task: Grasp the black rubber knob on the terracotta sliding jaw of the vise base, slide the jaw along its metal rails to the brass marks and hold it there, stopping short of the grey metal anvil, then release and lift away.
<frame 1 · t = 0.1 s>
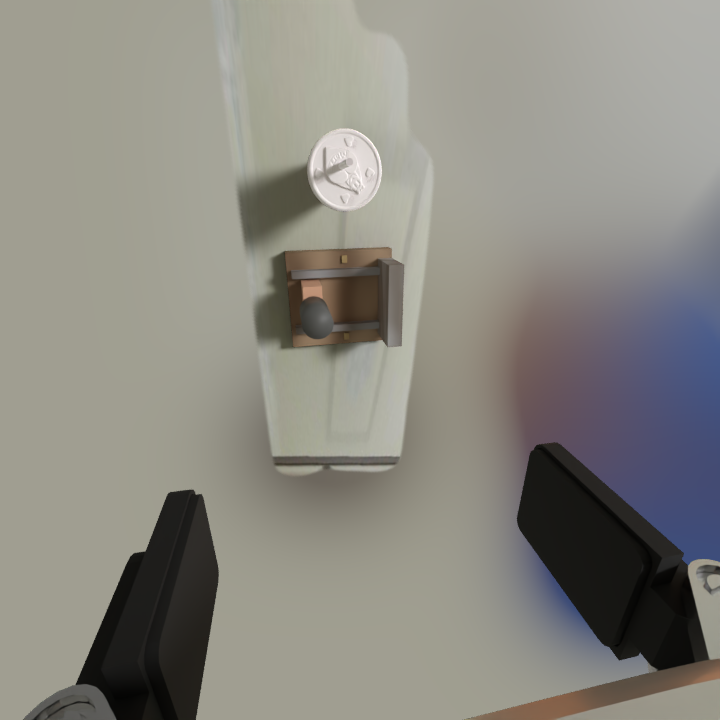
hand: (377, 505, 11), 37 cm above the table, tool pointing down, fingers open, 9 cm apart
smoothie: (331, 176, 41), on the table
vise base: (339, 296, 46), on the table
jaw: (314, 311, 40), point 6 cm above the table, slide at 0.0 cm
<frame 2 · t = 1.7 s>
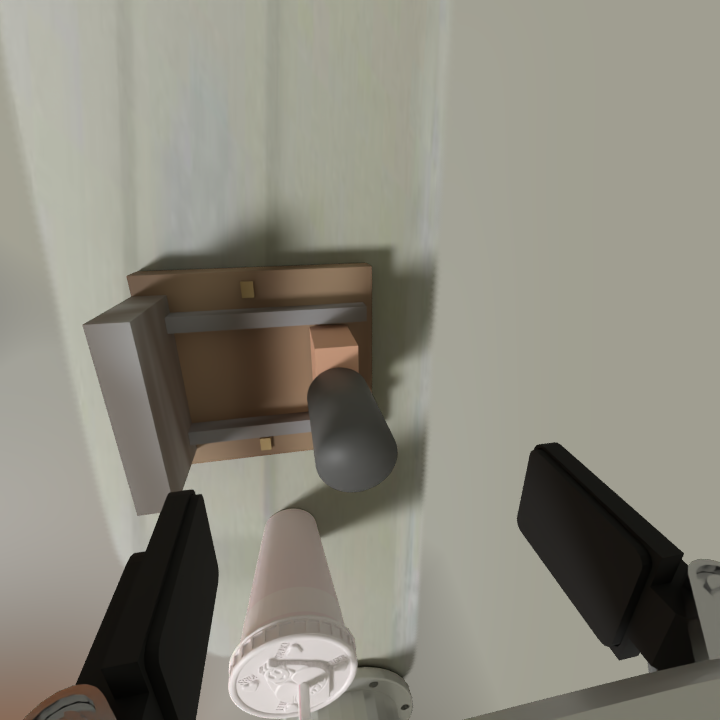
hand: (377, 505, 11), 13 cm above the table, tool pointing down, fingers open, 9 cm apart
smoothie: (290, 526, 28), on the table
vise base: (267, 361, 23), on the table
jaw: (340, 403, 18), point 6 cm above the table, slide at 0.0 cm
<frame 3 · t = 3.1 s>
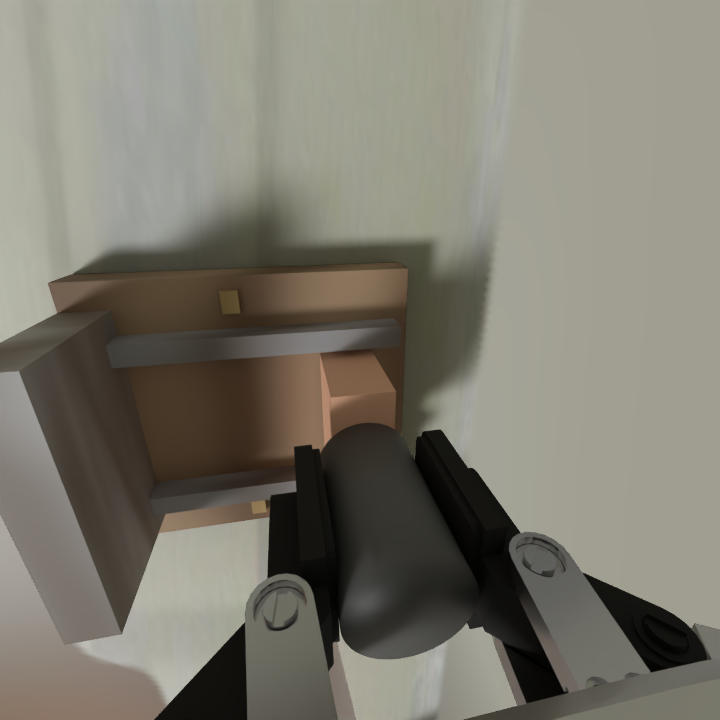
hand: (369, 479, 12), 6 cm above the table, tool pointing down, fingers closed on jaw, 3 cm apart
smoothie: (291, 592, 22), on the table
vise base: (260, 395, 17), on the table
jaw: (368, 476, 12), point 6 cm above the table, slide at 0.0 cm, touching gripper
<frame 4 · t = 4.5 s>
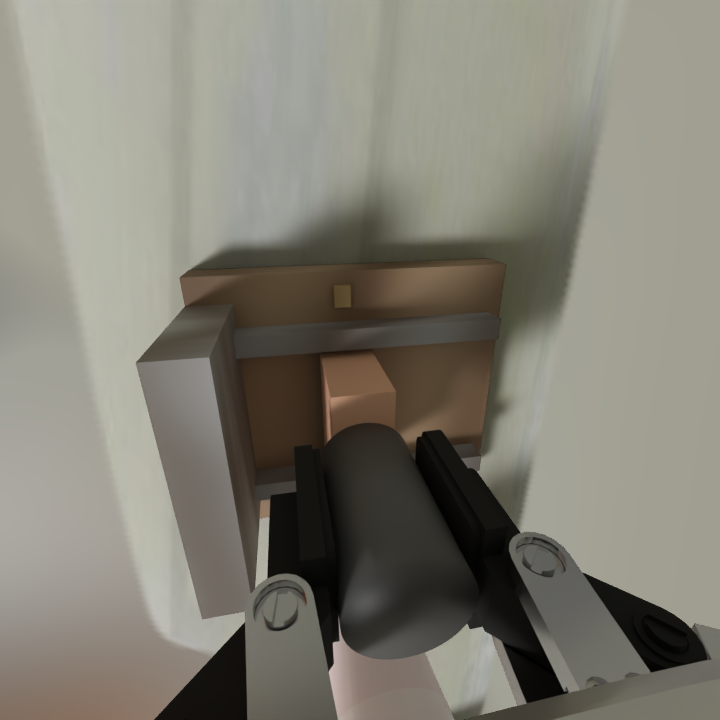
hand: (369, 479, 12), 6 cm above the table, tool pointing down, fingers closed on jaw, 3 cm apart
smoothie: (359, 579, 23), on the table
vise base: (350, 386, 17), on the table
jaw: (368, 476, 12), point 6 cm above the table, slide at 4.0 cm, touching gripper
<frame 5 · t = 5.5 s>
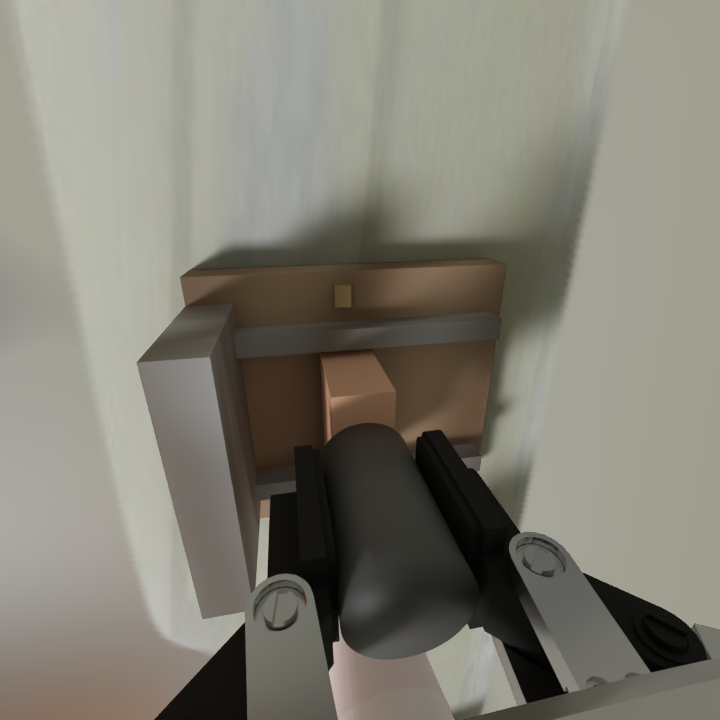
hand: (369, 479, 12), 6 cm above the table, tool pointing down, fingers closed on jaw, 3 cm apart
smoothie: (359, 579, 23), on the table
vise base: (350, 386, 17), on the table
jaw: (368, 476, 12), point 6 cm above the table, slide at 4.0 cm, touching gripper
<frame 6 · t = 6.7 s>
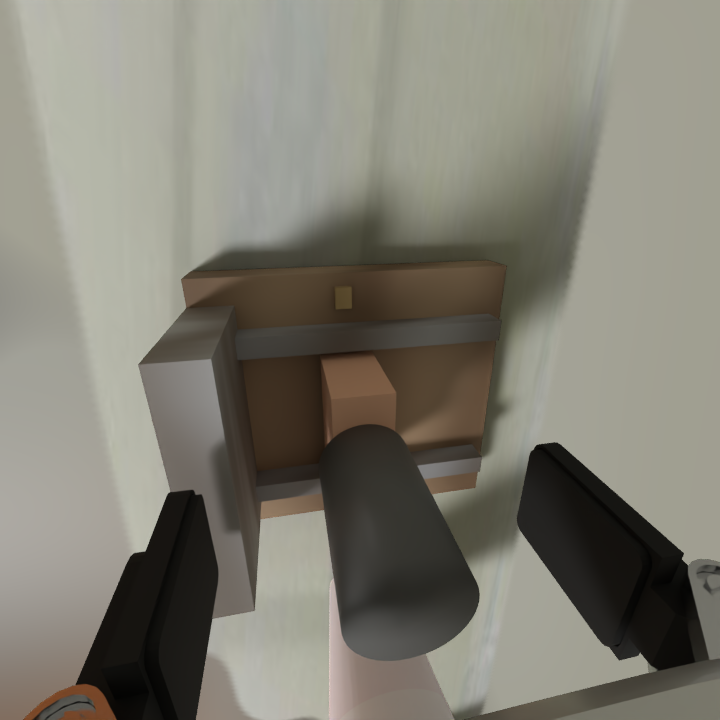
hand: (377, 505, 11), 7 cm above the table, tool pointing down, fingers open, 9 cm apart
smoothie: (359, 580, 23), on the table
vise base: (351, 388, 17), on the table
jaw: (369, 477, 12), point 6 cm above the table, slide at 4.0 cm
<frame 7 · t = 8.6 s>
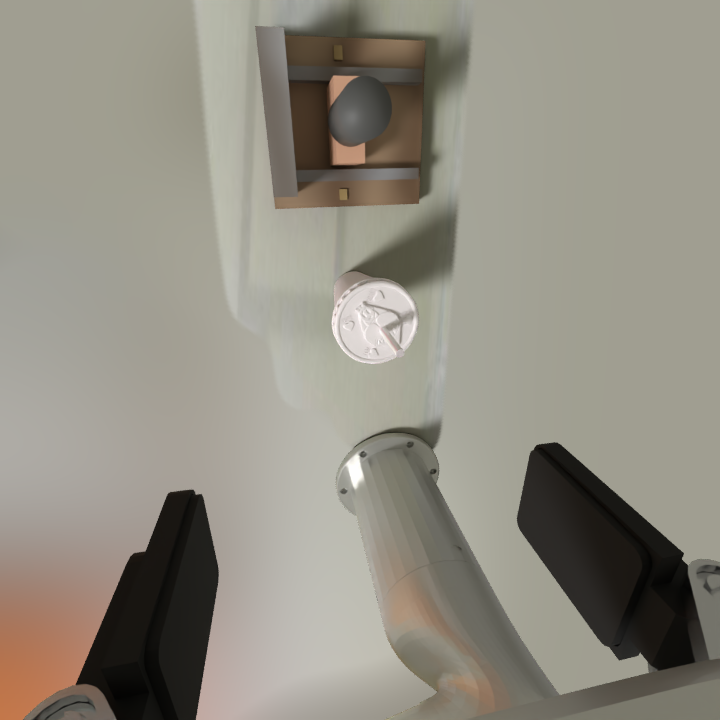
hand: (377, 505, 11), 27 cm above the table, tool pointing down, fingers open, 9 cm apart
smoothie: (352, 290, 36), on the table
vise base: (343, 130, 31), on the table
jaw: (351, 119, 25), point 6 cm above the table, slide at 4.0 cm
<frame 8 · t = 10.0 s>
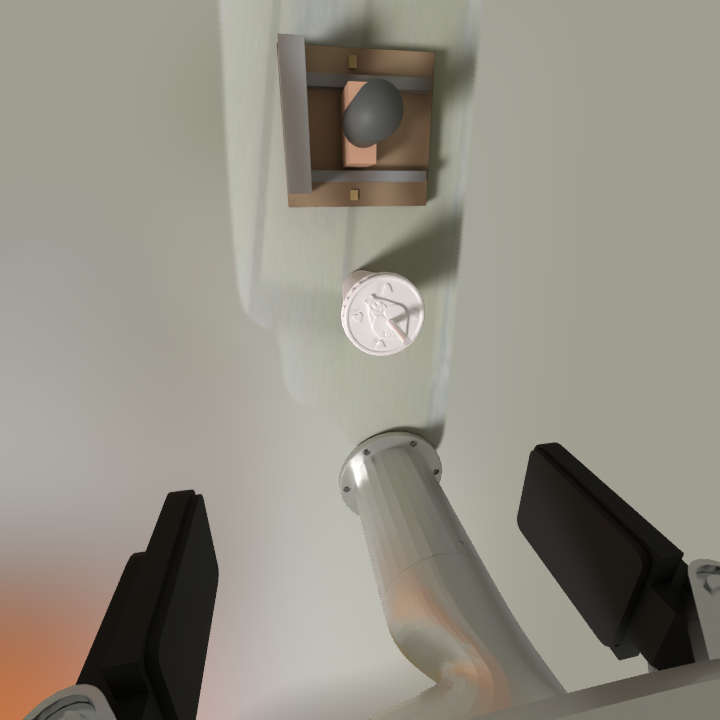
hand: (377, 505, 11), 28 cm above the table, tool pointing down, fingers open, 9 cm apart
smoothie: (360, 288, 37), on the table
vise base: (355, 135, 32), on the table
jaw: (364, 122, 27), point 6 cm above the table, slide at 4.0 cm
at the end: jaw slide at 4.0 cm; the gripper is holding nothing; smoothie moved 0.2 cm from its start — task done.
